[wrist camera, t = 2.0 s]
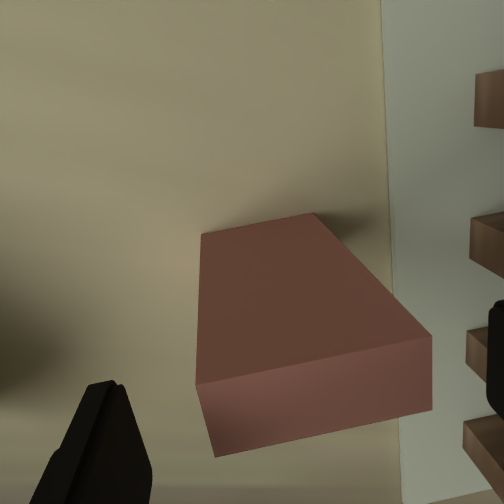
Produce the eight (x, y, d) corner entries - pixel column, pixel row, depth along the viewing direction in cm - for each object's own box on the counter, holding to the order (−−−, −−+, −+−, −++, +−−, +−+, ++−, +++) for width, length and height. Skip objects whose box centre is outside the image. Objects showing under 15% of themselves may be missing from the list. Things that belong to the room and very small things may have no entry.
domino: (201, 234, 17) (195, 385, 8) (312, 212, 18) (432, 335, 8) (210, 275, 18) (214, 457, 9) (317, 254, 18) (432, 410, 9)
